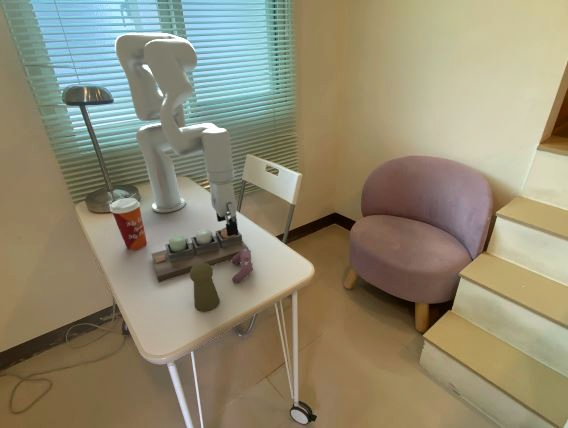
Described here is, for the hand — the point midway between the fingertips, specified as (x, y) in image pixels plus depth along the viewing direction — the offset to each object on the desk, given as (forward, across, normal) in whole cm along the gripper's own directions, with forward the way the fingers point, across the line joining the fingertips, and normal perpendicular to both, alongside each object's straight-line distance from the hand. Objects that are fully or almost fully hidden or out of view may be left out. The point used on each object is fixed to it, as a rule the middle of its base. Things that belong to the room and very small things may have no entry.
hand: (227, 227), depth 96 cm
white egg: (+3, 0, -8) cm, 8 cm away
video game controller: (+7, +14, -1) cm, 16 cm away
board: (+7, +2, -10) cm, 12 cm away
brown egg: (+4, 0, 0) cm, 4 cm away
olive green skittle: (+7, +22, -13) cm, 26 cm away
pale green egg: (+3, 0, -15) cm, 15 cm away
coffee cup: (+7, -16, -26) cm, 31 cm away
